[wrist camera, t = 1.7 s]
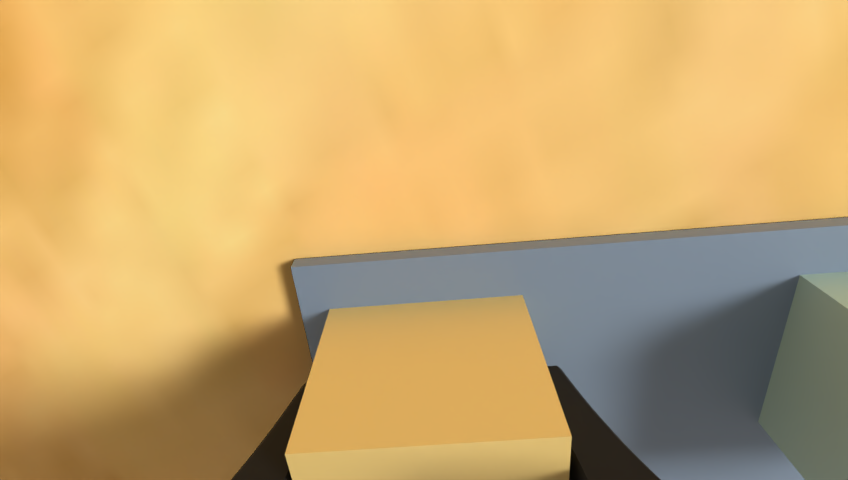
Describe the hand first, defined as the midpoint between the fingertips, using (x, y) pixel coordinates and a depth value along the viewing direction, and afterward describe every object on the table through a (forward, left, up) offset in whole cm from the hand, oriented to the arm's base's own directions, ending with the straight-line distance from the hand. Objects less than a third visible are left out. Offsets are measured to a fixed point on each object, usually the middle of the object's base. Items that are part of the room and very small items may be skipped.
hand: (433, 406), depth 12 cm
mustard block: (0, 0, -1) cm, 1 cm away
